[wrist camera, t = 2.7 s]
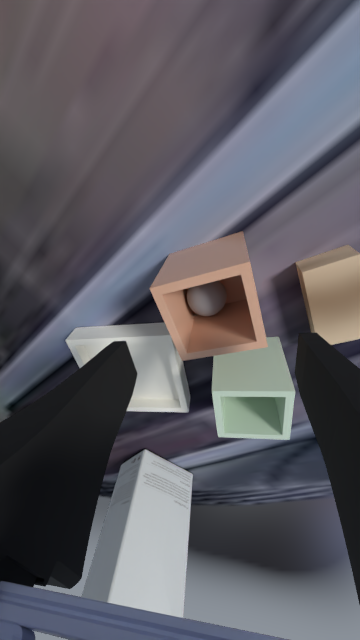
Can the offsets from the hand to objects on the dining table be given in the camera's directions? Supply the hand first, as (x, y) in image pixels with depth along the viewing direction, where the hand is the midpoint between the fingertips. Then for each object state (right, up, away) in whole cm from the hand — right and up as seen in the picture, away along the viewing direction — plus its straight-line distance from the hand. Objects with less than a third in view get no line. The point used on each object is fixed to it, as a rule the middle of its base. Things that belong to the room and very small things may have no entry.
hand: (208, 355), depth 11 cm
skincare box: (-4, -19, +23) cm, 30 cm away
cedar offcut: (+9, +3, +7) cm, 12 cm away
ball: (+1, +3, +6) cm, 7 cm away
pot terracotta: (+1, +5, +7) cm, 8 cm away
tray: (-5, -3, +13) cm, 14 cm away
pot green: (+4, -2, +11) cm, 12 cm away
